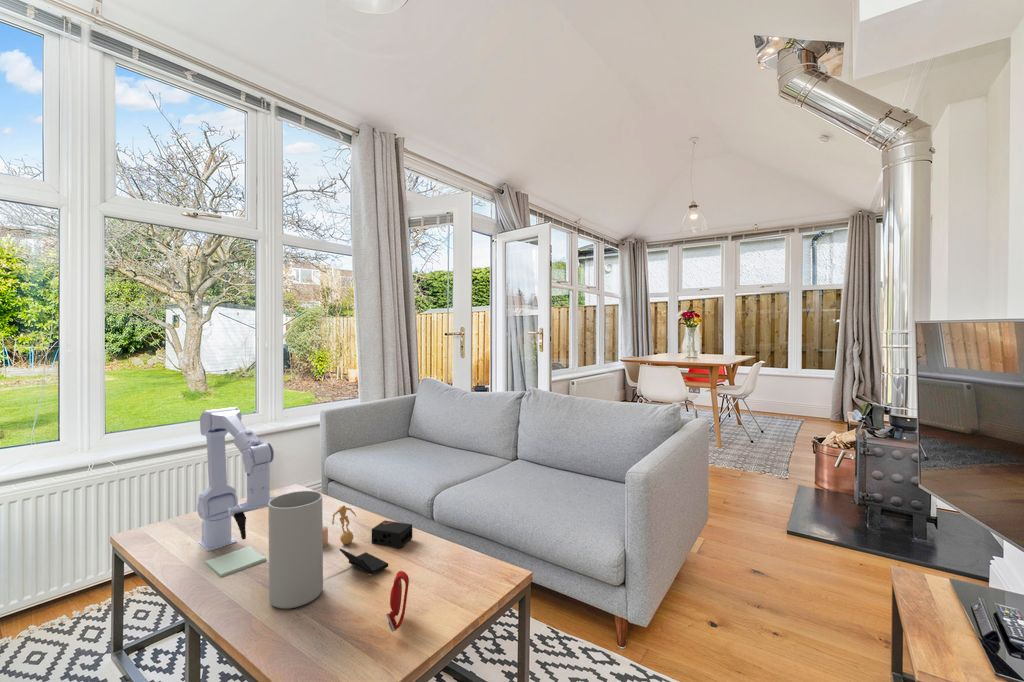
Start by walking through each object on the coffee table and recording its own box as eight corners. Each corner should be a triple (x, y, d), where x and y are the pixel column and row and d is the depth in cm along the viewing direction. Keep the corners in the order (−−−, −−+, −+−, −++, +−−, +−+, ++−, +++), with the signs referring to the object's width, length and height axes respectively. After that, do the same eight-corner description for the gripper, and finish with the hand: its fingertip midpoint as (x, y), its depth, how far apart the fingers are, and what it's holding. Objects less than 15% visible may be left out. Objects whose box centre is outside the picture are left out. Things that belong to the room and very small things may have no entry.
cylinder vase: (287, 616, 106) (286, 512, 106) (259, 600, 113) (258, 502, 112) (333, 590, 117) (332, 496, 116) (304, 577, 123) (304, 487, 123)
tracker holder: (393, 605, 110) (393, 565, 110) (411, 604, 111) (411, 564, 111) (383, 637, 98) (383, 593, 98) (404, 636, 99) (403, 591, 99)
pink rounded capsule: (308, 546, 142) (307, 530, 142) (322, 540, 146) (322, 525, 146) (316, 550, 139) (315, 534, 139) (331, 544, 143) (330, 529, 143)
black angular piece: (393, 557, 130) (375, 538, 125) (380, 582, 125) (361, 563, 120) (364, 553, 135) (346, 535, 130) (351, 577, 130) (332, 558, 125)
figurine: (338, 550, 139) (337, 512, 139) (328, 544, 143) (328, 507, 143) (361, 540, 145) (361, 504, 145) (351, 535, 149) (351, 500, 149)
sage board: (205, 564, 130) (205, 561, 130) (249, 549, 140) (249, 546, 140) (220, 578, 123) (220, 574, 123) (266, 560, 132) (266, 557, 132)
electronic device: (400, 549, 140) (400, 533, 140) (371, 544, 143) (371, 528, 143) (412, 539, 147) (412, 523, 147) (384, 534, 150) (384, 520, 150)
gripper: (232, 496, 119) (232, 546, 119) (289, 484, 129) (290, 530, 129) (226, 490, 125) (226, 538, 125) (282, 478, 134) (282, 523, 135)
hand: (258, 534), depth 127 cm, fingers open, 7 cm apart
